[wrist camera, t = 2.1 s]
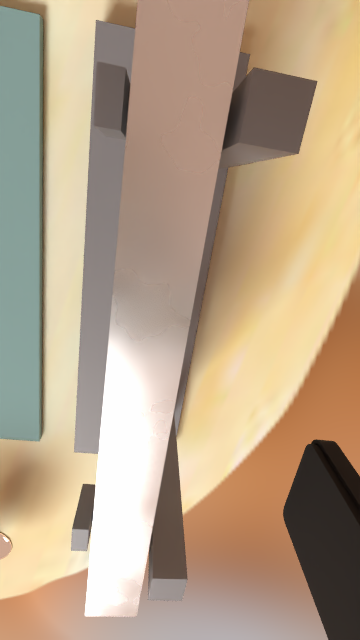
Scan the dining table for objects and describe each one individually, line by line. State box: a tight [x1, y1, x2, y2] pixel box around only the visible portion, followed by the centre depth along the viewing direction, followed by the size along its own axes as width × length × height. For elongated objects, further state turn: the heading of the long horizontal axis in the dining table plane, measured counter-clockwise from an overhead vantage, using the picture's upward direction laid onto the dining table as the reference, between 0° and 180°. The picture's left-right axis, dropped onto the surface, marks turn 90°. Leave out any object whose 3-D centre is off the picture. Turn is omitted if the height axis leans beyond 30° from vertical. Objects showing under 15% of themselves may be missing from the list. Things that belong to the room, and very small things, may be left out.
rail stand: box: [71, 20, 317, 601], centre depth 17 cm, size 28×8×14 cm, turn 171°
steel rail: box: [85, 0, 249, 617], centre depth 13 cm, size 24×2×3 cm, turn 171°
